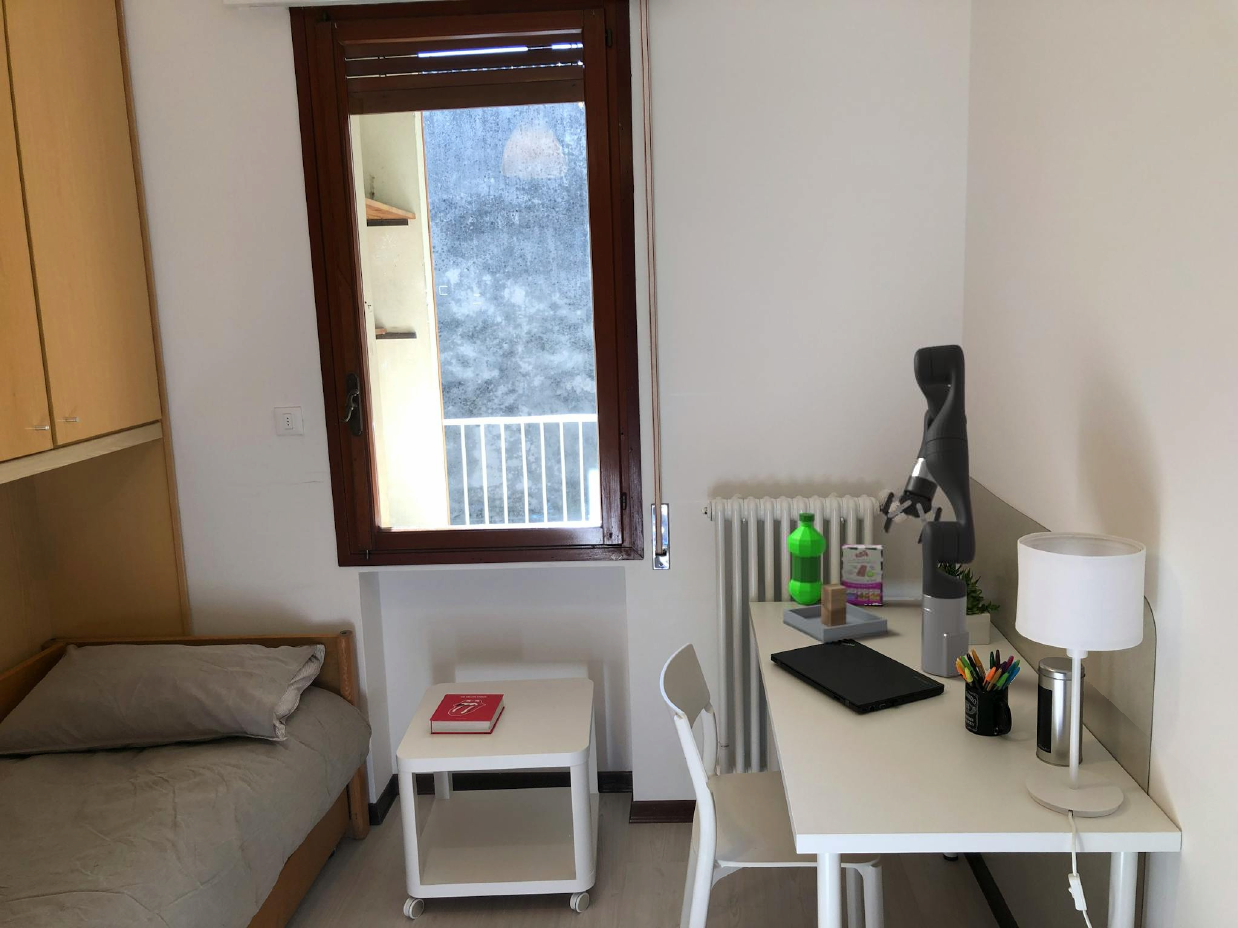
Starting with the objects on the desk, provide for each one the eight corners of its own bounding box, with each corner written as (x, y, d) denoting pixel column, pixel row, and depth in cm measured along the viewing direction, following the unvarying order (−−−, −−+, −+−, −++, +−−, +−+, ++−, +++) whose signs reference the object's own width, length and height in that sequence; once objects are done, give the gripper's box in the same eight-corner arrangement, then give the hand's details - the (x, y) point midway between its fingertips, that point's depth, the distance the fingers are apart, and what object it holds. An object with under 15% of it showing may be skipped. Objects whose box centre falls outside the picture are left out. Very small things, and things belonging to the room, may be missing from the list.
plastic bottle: (792, 607, 259) (792, 518, 256) (785, 597, 270) (785, 511, 266) (828, 606, 259) (829, 517, 256) (819, 596, 270) (820, 510, 266)
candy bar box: (883, 602, 262) (884, 544, 260) (882, 606, 258) (883, 548, 256) (842, 599, 266) (842, 542, 264) (841, 604, 261) (841, 546, 259)
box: (887, 633, 234) (887, 619, 234) (823, 643, 228) (823, 629, 227) (843, 614, 252) (843, 601, 251) (783, 622, 245) (783, 609, 244)
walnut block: (846, 625, 238) (846, 587, 237) (830, 628, 237) (831, 589, 236) (836, 621, 243) (836, 583, 241) (821, 623, 241) (821, 585, 240)
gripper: (895, 468, 243) (874, 526, 241) (950, 484, 236) (929, 544, 235) (898, 475, 249) (877, 531, 248) (952, 491, 243) (931, 549, 241)
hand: (902, 538), depth 241 cm, fingers open, 8 cm apart
